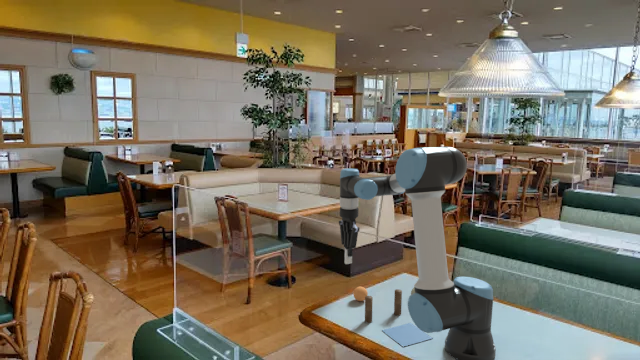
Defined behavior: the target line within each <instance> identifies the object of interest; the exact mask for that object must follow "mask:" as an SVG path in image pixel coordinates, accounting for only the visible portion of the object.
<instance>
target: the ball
mask: <svg viewBox="0 0 640 360" xmlns="http://www.w3.org/2000/svg"><path fill="white" fill-rule="evenodd" d="M352 293H353V298H354V299H355V301H358V302H365V297H366V296H369V295H368V294H369V293H368V290H367V289H366V288H365V287H364V286H357V287H356V288H354V290H353V291H352Z"/></svg>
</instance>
